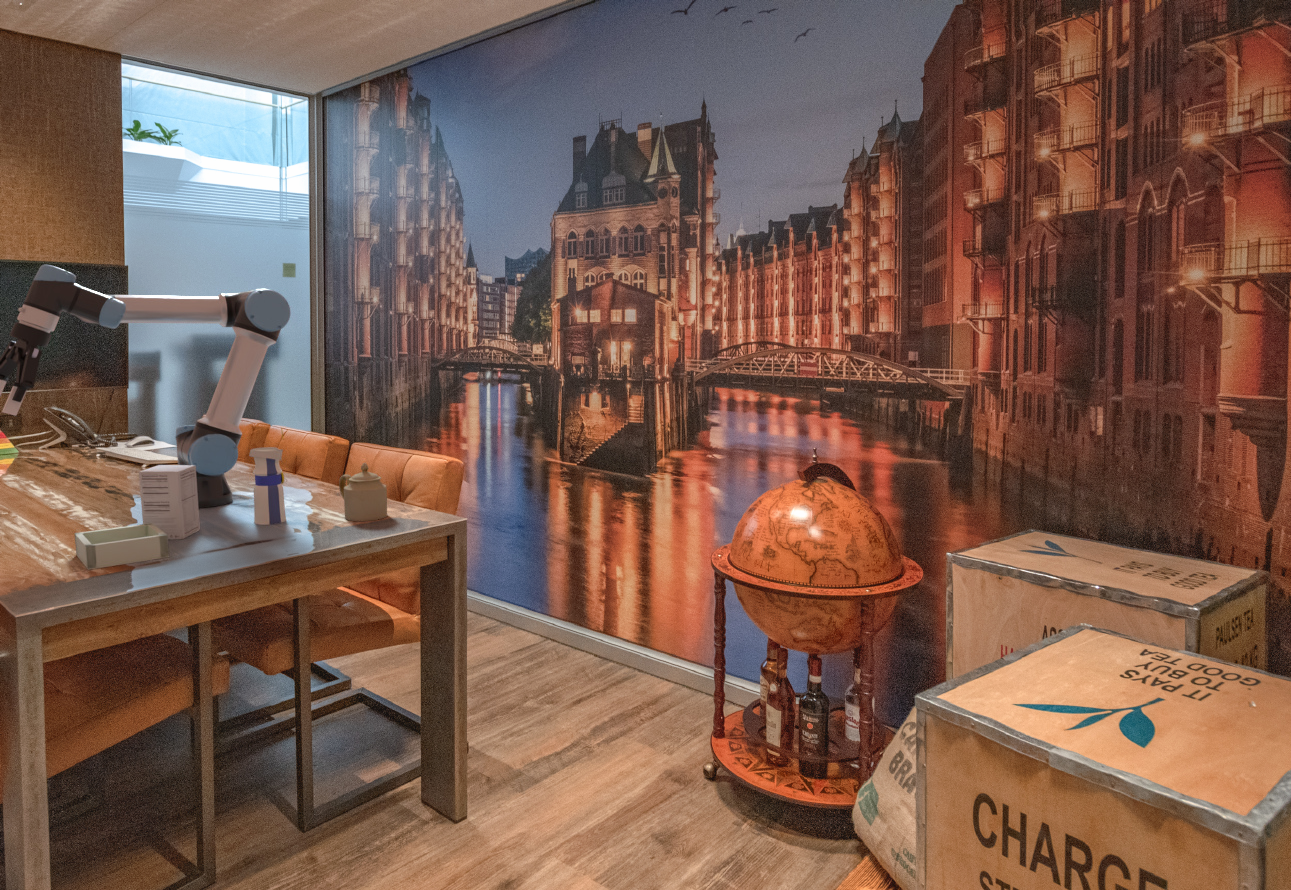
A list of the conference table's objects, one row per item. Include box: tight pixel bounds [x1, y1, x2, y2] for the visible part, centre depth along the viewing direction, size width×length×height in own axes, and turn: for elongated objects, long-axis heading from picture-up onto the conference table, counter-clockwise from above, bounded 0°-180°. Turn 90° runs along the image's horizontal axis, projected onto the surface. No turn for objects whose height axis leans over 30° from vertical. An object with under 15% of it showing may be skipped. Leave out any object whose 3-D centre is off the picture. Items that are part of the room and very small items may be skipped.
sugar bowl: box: [338, 462, 388, 522], centre depth 219 cm, size 15×11×15 cm
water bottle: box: [248, 427, 287, 526], centre depth 212 cm, size 8×9×25 cm
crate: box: [74, 523, 170, 570], centre depth 179 cm, size 15×15×5 cm
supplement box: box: [138, 464, 201, 540], centre depth 197 cm, size 10×9×17 cm
